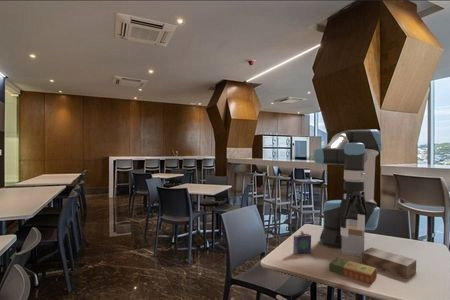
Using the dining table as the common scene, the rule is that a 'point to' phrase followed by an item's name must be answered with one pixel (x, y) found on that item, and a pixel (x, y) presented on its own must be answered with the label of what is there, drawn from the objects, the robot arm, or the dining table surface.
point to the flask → (302, 244)
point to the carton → (353, 270)
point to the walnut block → (389, 262)
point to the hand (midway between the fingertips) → (352, 232)
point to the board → (353, 240)
